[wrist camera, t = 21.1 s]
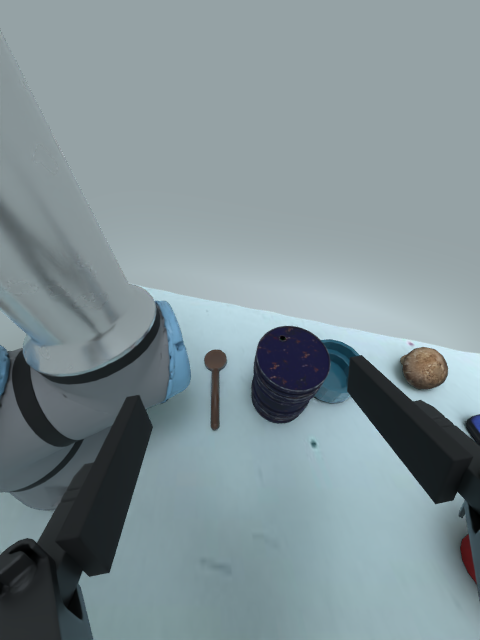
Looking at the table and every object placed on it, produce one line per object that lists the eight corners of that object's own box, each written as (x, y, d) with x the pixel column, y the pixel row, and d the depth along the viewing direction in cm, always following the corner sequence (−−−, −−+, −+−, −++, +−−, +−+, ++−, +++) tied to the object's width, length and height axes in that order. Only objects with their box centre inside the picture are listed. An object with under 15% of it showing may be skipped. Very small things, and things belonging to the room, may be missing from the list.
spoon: (228, 429, 37) (228, 427, 36) (202, 431, 37) (201, 429, 36) (226, 351, 47) (226, 347, 46) (205, 352, 47) (204, 349, 46)
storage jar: (315, 412, 39) (347, 376, 28) (264, 433, 37) (276, 404, 25) (288, 363, 45) (305, 317, 33) (242, 380, 43) (244, 336, 31)
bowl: (295, 394, 41) (302, 382, 37) (302, 348, 47) (308, 334, 43) (353, 411, 39) (367, 400, 35) (352, 361, 45) (364, 347, 41)
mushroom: (395, 339, 45) (428, 341, 39) (425, 353, 46) (461, 357, 40) (384, 377, 44) (415, 385, 38) (415, 390, 45) (450, 400, 39)
